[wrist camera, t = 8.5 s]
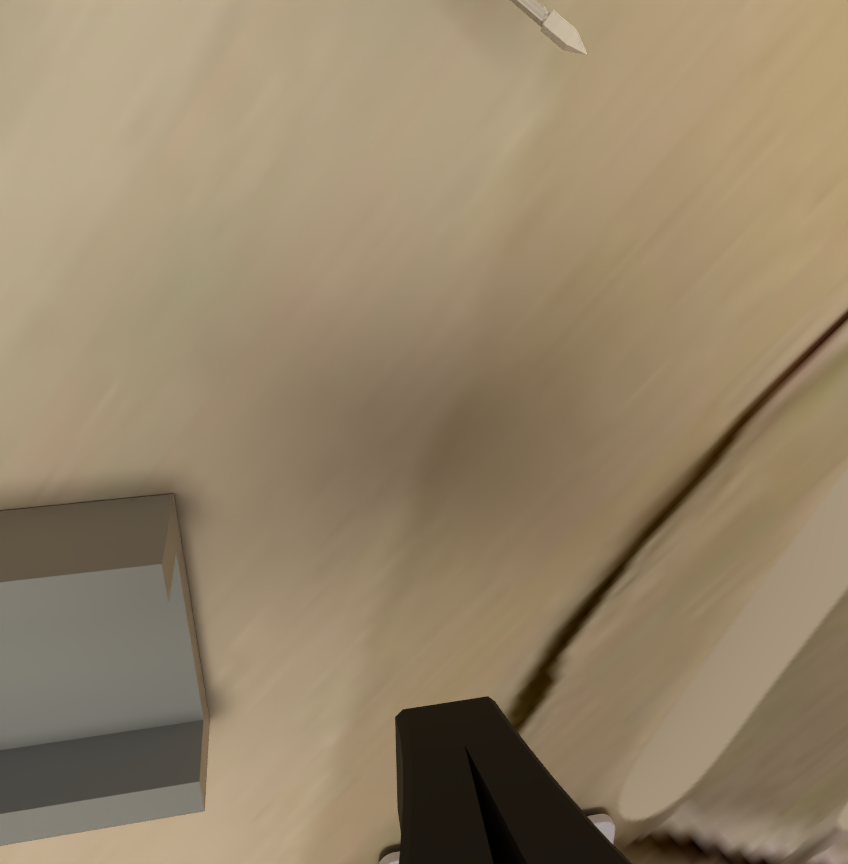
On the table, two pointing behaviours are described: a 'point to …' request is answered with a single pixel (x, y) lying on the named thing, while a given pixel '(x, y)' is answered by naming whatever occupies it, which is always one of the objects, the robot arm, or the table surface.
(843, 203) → the table surface
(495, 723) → the robot arm
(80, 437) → the table surface
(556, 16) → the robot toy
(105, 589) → the trough
